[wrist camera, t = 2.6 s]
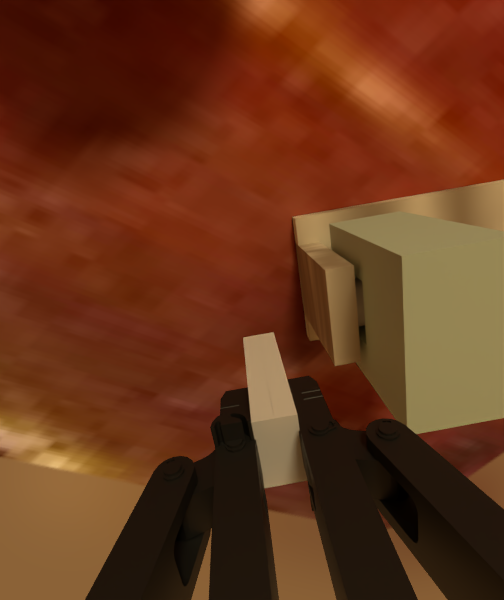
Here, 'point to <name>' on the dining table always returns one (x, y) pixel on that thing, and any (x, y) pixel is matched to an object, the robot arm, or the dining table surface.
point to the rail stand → (340, 273)
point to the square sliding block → (429, 316)
